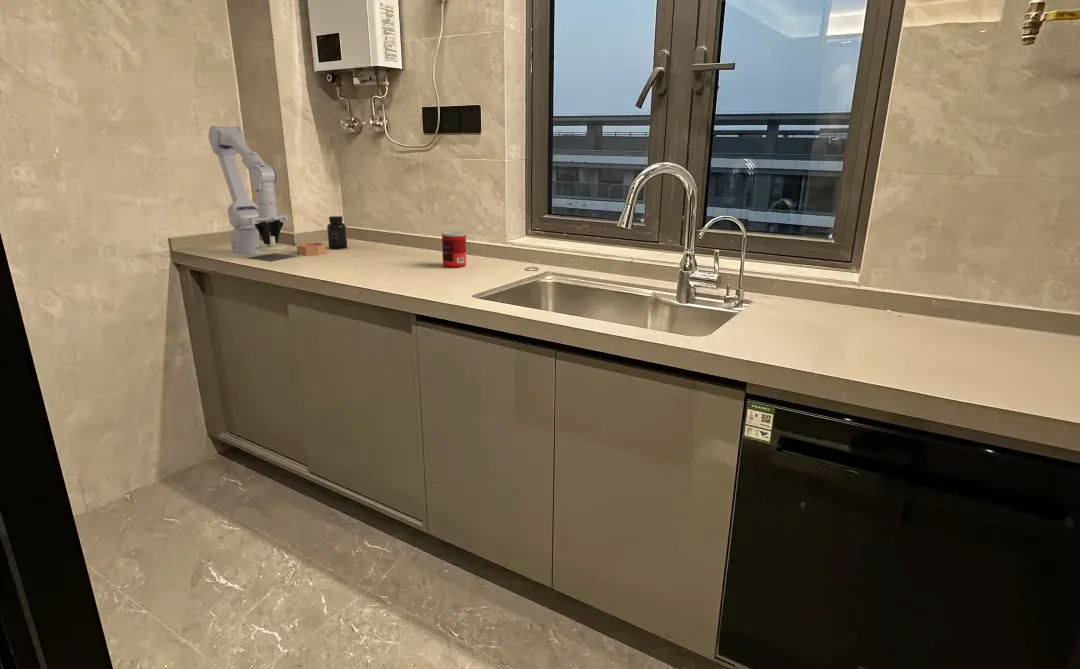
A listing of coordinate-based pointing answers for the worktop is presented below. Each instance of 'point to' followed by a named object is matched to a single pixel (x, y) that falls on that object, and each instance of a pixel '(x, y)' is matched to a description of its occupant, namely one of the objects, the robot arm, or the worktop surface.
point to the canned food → (454, 249)
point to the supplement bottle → (336, 233)
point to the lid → (271, 245)
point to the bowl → (311, 249)
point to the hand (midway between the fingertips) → (271, 243)
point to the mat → (272, 257)
